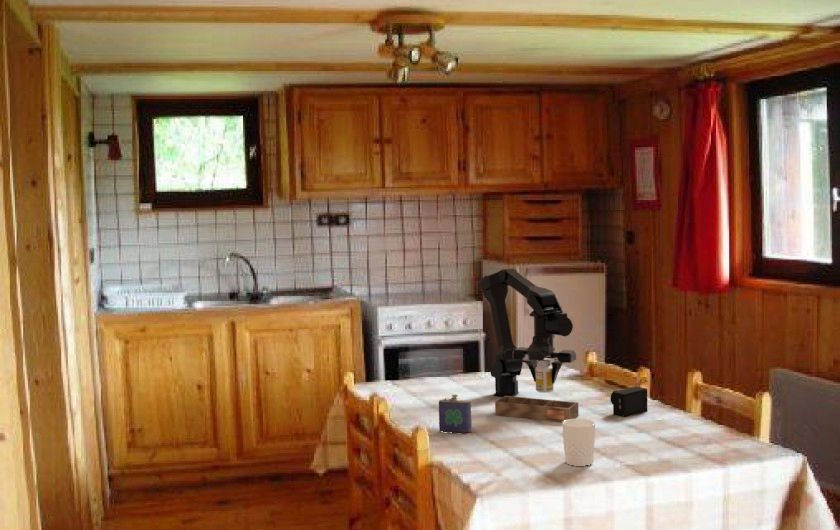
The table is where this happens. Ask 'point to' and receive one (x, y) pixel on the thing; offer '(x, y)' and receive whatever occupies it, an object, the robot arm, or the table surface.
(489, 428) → the table surface
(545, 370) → the supplement bottle
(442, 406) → the flask
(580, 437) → the white cup
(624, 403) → the digital camera
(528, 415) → the bottle rack
